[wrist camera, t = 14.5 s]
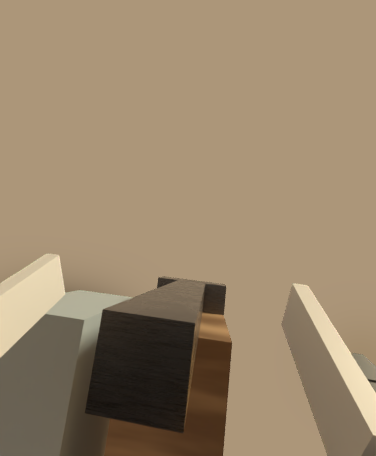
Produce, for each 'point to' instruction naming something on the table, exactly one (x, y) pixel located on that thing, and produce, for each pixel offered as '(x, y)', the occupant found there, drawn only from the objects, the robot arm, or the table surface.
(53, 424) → the blue grey stand
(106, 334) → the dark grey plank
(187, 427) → the walnut stand
